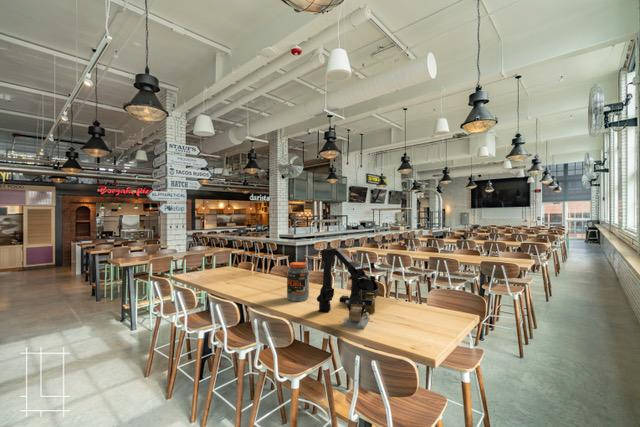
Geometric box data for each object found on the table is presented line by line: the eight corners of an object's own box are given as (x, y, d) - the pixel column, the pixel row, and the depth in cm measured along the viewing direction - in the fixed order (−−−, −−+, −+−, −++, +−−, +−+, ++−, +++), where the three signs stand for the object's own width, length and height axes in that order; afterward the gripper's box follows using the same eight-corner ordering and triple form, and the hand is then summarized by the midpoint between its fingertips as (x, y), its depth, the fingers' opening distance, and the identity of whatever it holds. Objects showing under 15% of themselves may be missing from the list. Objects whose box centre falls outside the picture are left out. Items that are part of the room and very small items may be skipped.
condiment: (377, 312, 185) (377, 293, 185) (367, 315, 180) (367, 295, 180) (369, 309, 191) (369, 291, 191) (359, 312, 186) (359, 293, 186)
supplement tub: (284, 301, 208) (284, 264, 208) (290, 295, 224) (290, 261, 224) (306, 302, 206) (306, 265, 206) (310, 296, 221) (310, 261, 221)
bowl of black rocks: (351, 297, 219) (351, 272, 219) (378, 298, 216) (378, 272, 216) (349, 305, 199) (350, 277, 199) (380, 307, 196) (380, 278, 196)
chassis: (363, 329, 158) (363, 321, 158) (342, 326, 162) (342, 318, 162) (369, 319, 173) (369, 312, 173) (349, 316, 177) (349, 310, 177)
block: (359, 321, 162) (359, 313, 162) (349, 319, 164) (349, 311, 164) (363, 315, 172) (363, 307, 172) (353, 314, 173) (353, 306, 173)
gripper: (336, 289, 164) (336, 318, 164) (370, 293, 157) (369, 322, 157) (342, 285, 174) (342, 311, 174) (373, 288, 167) (373, 316, 167)
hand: (356, 315), depth 168 cm, fingers closed on block, 6 cm apart
